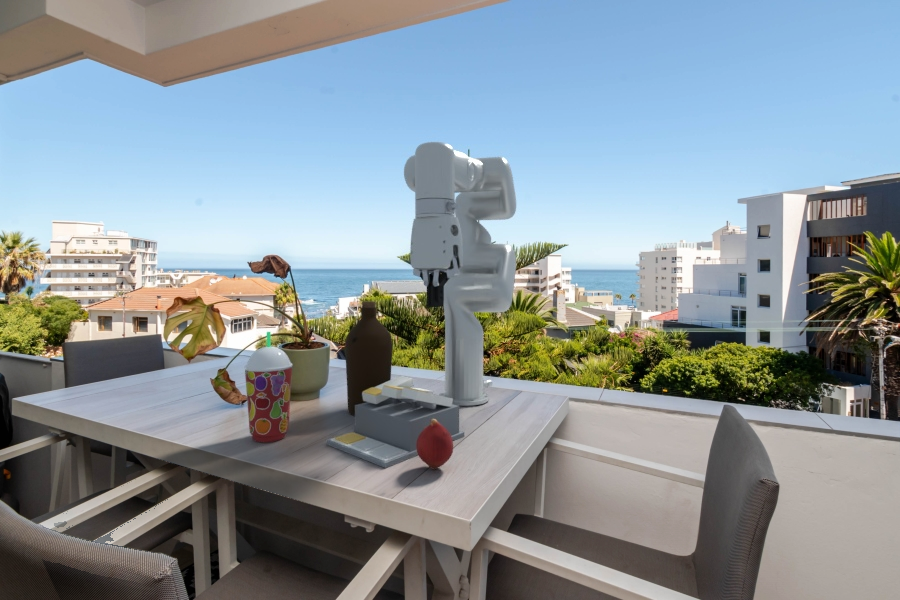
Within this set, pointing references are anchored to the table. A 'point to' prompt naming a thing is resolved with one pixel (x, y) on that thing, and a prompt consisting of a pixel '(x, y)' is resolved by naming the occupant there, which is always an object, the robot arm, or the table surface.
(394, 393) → the rocker
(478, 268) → the robot arm
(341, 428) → the table surface
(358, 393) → the olive oil
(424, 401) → the rocker
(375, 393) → the rocker
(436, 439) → the onion
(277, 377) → the smoothie
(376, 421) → the switch unit
